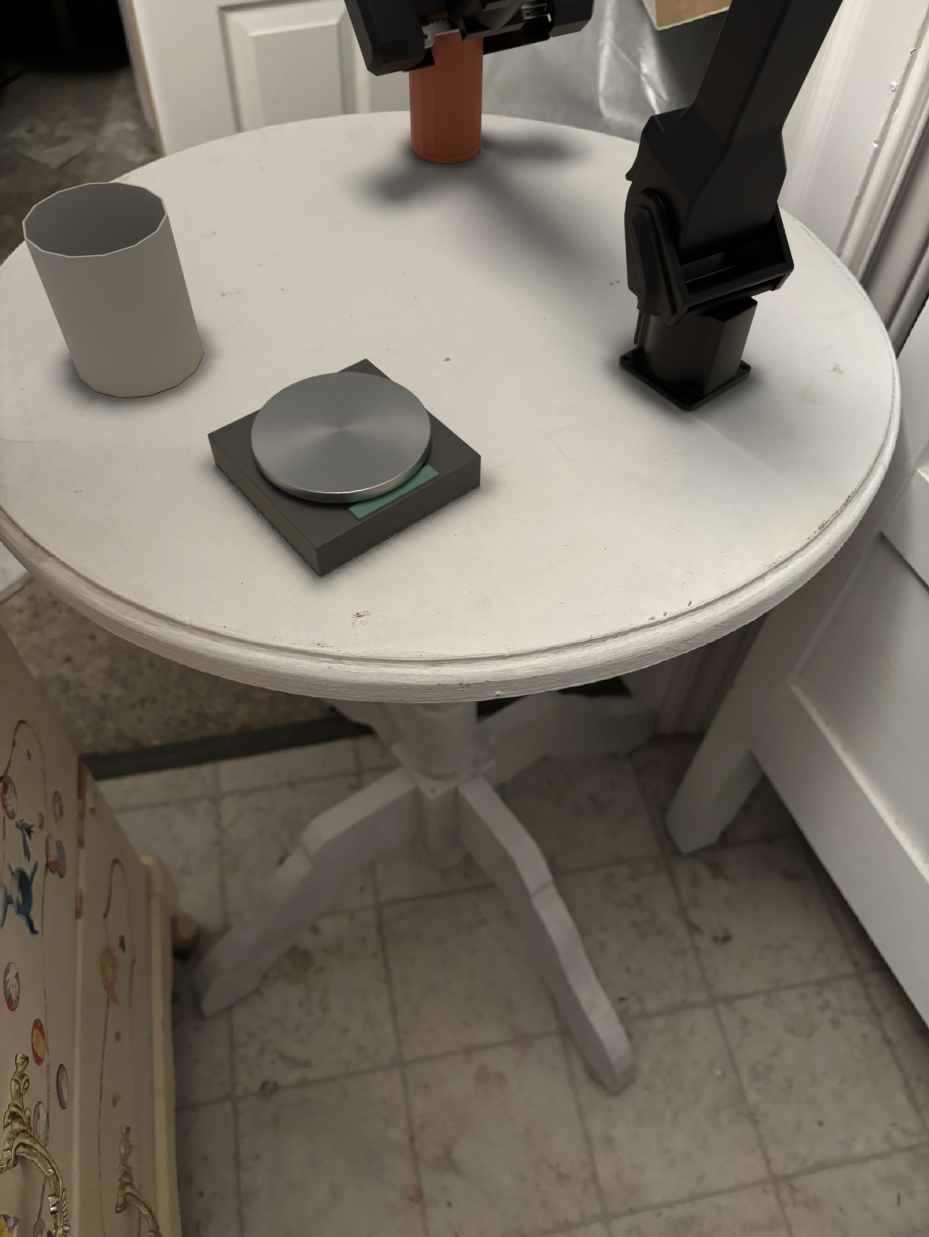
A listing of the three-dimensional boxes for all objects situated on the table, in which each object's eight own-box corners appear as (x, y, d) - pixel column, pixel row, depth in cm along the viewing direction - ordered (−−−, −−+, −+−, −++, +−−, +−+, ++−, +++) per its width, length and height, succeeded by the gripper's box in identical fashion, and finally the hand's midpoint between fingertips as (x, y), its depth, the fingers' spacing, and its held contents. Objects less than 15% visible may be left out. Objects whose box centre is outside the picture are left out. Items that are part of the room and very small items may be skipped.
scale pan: (467, 449, 54) (467, 438, 53) (317, 532, 50) (315, 521, 49) (363, 360, 59) (362, 350, 58) (219, 429, 55) (216, 419, 54)
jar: (494, 149, 81) (500, -15, 71) (440, 171, 79) (438, 4, 69) (451, 123, 84) (451, -39, 74) (398, 143, 81) (390, -21, 71)
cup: (52, 380, 62) (-8, 241, 54) (118, 310, 66) (72, 172, 58) (165, 408, 60) (120, 269, 52) (224, 334, 65) (192, 196, 57)
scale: (480, 485, 56) (481, 452, 54) (320, 577, 52) (314, 546, 50) (368, 387, 62) (365, 354, 59) (215, 463, 57) (205, 431, 55)
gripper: (593, -205, 63) (505, -64, 78) (340, -171, 58) (297, -26, 72) (640, -31, 65) (546, 74, 80) (401, 18, 60) (347, 121, 74)
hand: (438, 58), depth 77 cm, fingers closed on jar, 6 cm apart
